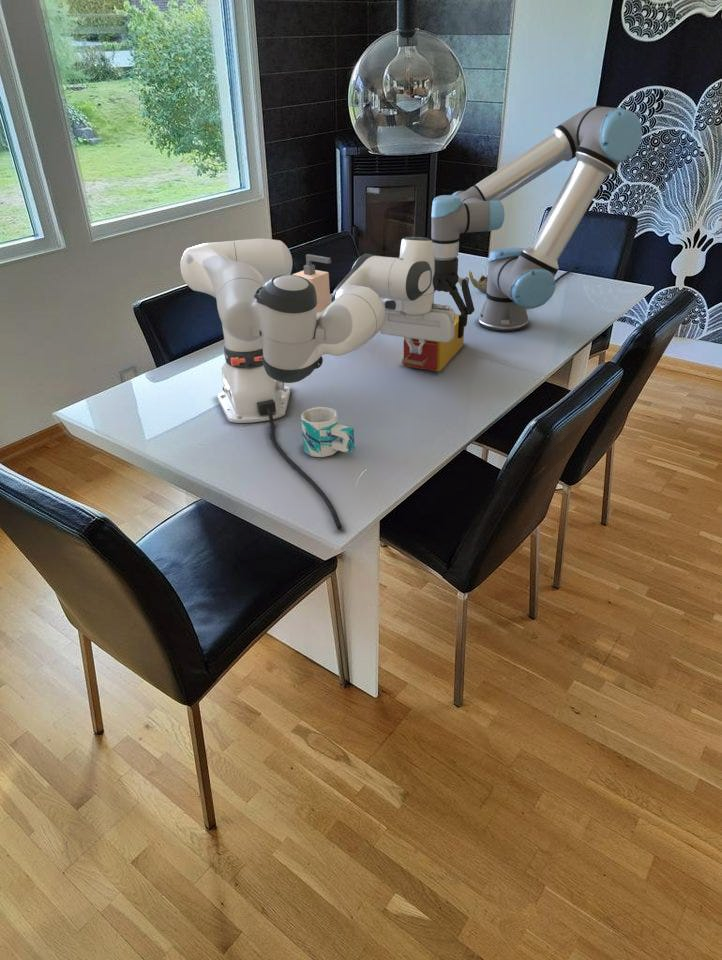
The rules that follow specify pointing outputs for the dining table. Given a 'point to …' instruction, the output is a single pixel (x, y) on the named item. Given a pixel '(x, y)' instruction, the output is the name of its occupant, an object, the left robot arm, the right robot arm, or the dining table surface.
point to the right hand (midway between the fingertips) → (442, 334)
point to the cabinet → (447, 347)
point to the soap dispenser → (317, 280)
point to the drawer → (421, 355)
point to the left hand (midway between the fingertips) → (416, 353)
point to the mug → (325, 433)
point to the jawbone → (479, 282)
